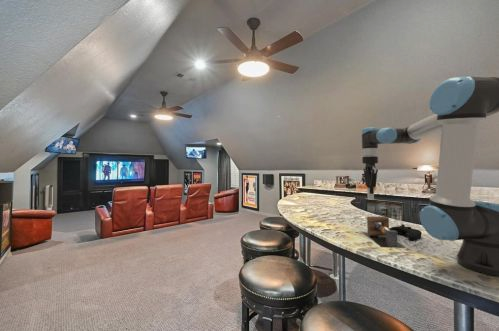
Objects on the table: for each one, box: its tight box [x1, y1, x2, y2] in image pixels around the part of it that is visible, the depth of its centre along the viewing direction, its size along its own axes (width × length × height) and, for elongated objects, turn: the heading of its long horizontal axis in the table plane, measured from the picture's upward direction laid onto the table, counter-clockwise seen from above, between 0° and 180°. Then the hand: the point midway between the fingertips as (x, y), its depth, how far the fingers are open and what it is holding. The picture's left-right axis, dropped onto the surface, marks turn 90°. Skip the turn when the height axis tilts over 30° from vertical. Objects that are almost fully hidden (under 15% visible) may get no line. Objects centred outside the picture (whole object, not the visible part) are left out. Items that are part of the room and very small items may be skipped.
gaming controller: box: [389, 224, 422, 242], centre depth 112 cm, size 14×6×10 cm
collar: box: [366, 215, 390, 236], centre depth 112 cm, size 3×9×9 cm, turn 83°
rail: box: [362, 222, 406, 249], centre depth 108 cm, size 21×10×7 cm, turn 173°
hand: (370, 199), depth 119 cm, fingers closed
